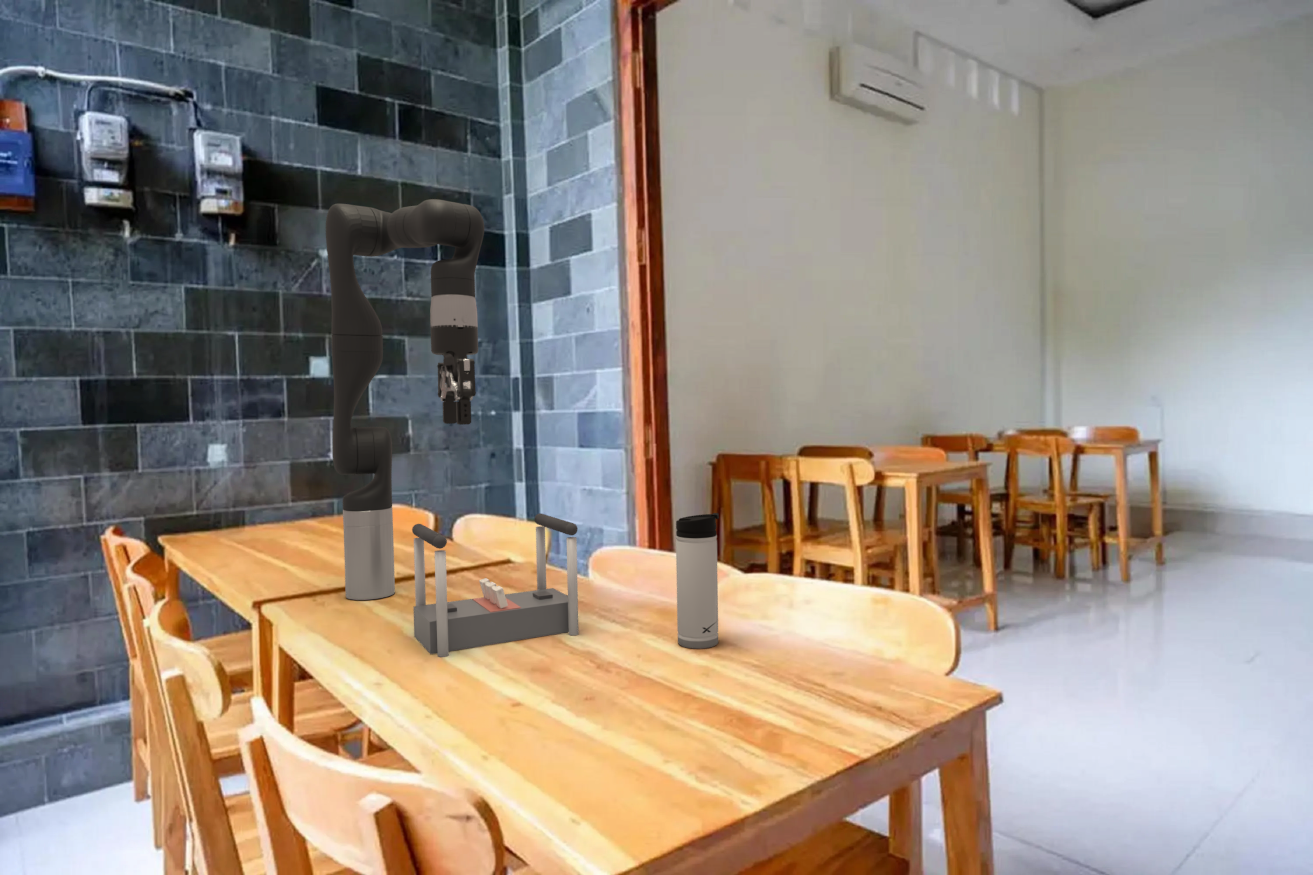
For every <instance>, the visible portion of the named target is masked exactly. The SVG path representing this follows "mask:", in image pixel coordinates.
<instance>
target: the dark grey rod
mask: <svg viewBox="0 0 1313 875" xmlns="http://www.w3.org/2000/svg"><path fill="white" fill-rule="evenodd" d="M534 522H535V523H536V524H537V525H539V526H544V527H545V528H548V529H551V530H553V531H556V532H559V533H562V534H564V535H567V536H574V535H576V534H577V533H578V525H577V524H576V523H574V522H570V521H568V520H564V519H562V518H557V517H554V516H552V515H547V514H544V513H537V514H536V515H534Z"/></svg>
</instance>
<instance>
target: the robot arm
mask: <svg viewBox="0 0 1313 875" xmlns="http://www.w3.org/2000/svg"><path fill="white" fill-rule="evenodd" d="M484 235H485V223H484V218H483V216H482V214H481V212H480V211H479V209H478V208H477V207H475V206H474V205H470V204H466V203H461V202H454V201H449V200H444V199H439V198H437V199H436V198H434V199H433V198H432V199H431V198H430V199H426V200H423V201H421V202H420V203H419V204H418V205H417V204H416V205H412V206H411V205H410V206H409V205H408V206H403V207H400V208H398V209H396V210H394V211H393V212H392V213H391V212H389V211H384V210H380V209H377V208H375V207H371V206H370V207H369V206H363V205H354V204H348V203H347V204H346V203H335V204H332V205H331V206H330V207H329V208H328V211H327V214H326V219H325V243H326V253H327V261H328V262H327V263H328V271H329V272H328V273H329V282H330V295H331V297H330V298H331V354H332V356H331V357H332V358H331V359H332V372H333V374H332V375H333V423H332V424H333V425H332V427H333V428H332V460H333V466H334V470H335V471H336V473H337V474H339V475H341V476H351V475H353V476H355V475H373V479H372V480H371V481H369V483H367V484H366V485H364V486H362V487H360V488H358V489H356V490H354V491H350V492H349V493H346V494H344V495H343V497H342V521H343V522H342V523H343V551H344V552H343V553H344V583H345V585H344V586H345V587H344V588H345V597H346V599H349V600H357V601H364V600H377V599H382V598H383V599H384V598H387V597H390V596H393V595H394V594H395V592H396V590H395V588H396V587H395V586H396V584H395V550H394V548H395V545H394V521H393V520H394V519H393V518H394V517H393V513H394V512H393V491H392V490H393V489H392V488H393V487H392V486H393V485H392V481H393V480H392V479H393V478H392V476H393V475H392V474H393V473H392V472H393V470H392V468H393V441H392V435H391V432H390V431H389V429H388V428H386V426H385V427H384V426H358V427H357V426H355V427H351V426H352V419H353V416H354V413H355V409H356V408H357V406H358V403H359V401H360V399H361V397H362V395H363V394H364V392H365V390H366V389H367V388H368V386H369V384H370V383H372V381H373V379H374V377H375V376H376V374H377V372H379V369H380V367H381V365H382V362H383V359H384V358H383V357H384V356H383V355H384V354H383V353H384V350H383V349H384V347H383V344H384V342H383V341H384V340H383V338H384V337H383V327H382V324H381V320H380V319H379V316H378V314H377V313H376V311H375V309H374V308H373V306H372V304H371V303H370V301H369V299H368V298H367V297H366V295H365V293H364V292H363V290H362V288H361V286H360V284H359V282H358V278H357V275H356V270H355V264H354V256H360V257H370V258H372V257H378V256H379V257H380V256H382V255H386V254H388V253H390V252H392V251H395V250H398V249H401V248H404V249H405V248H406V249H411V248H412V249H422V248H429V247H431V248H432V247H435V246H437V245H441V246H448V247H454V253H453V256H452V258H446V259H445V258H444V259H439V260H436V261H434V262H433V263H432V264H431V266H430V267H431V268H430V295H431V296H430V297H431V298H430V299H431V300H430V312H429V315H430V317H429V318H430V320H429V321H430V323H429V324H430V350H431V353H432V354H433V355H437V356H443V361H442V362H438V363H437V366H436V367H437V396H438V398H440V402H442V422H443V423H444V424H446V425H447V424H448V425H449V424H452V425H453V424H457V425H463V426H464V425H471V423H472V401H473V398H474V397H476V394H477V392H476V373H475V372H476V369H475V368H476V367H475V363H476V362H475V359H474V358H468V356H471V355H472V356H474V355H476V354H478V352H479V331H478V330H479V327H478V309H477V300H476V277H475V276H476V269H477V264H478V260H479V255H480V251H481V247H482V243H483V240H484Z"/></svg>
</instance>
